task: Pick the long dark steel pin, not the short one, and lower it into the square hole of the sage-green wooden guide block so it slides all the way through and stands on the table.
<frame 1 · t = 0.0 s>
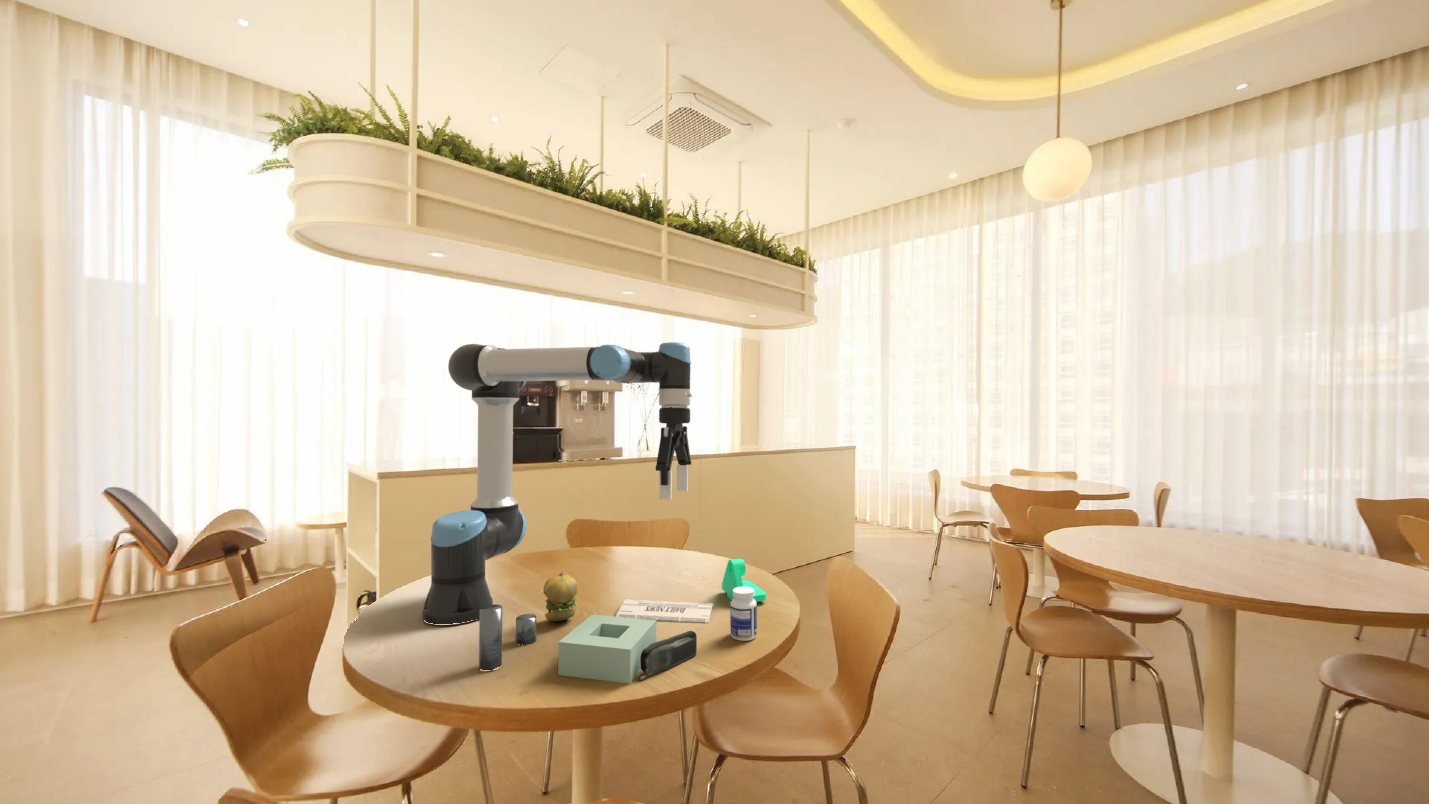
hand: (674, 495, 133), 28 cm above the table, tool pointing down, fingers open, 13 cm apart
pill bottle: (743, 637, 119), on the table
mobile phone: (667, 667, 105), on the table
short pin: (525, 641, 116), on the table
newspaper: (664, 615, 133), on the table
hamburger: (560, 623, 126), on the table
long pin: (490, 667, 104), on the table
camera mount: (744, 599, 143), on the table
guide block: (609, 662, 106), on the table
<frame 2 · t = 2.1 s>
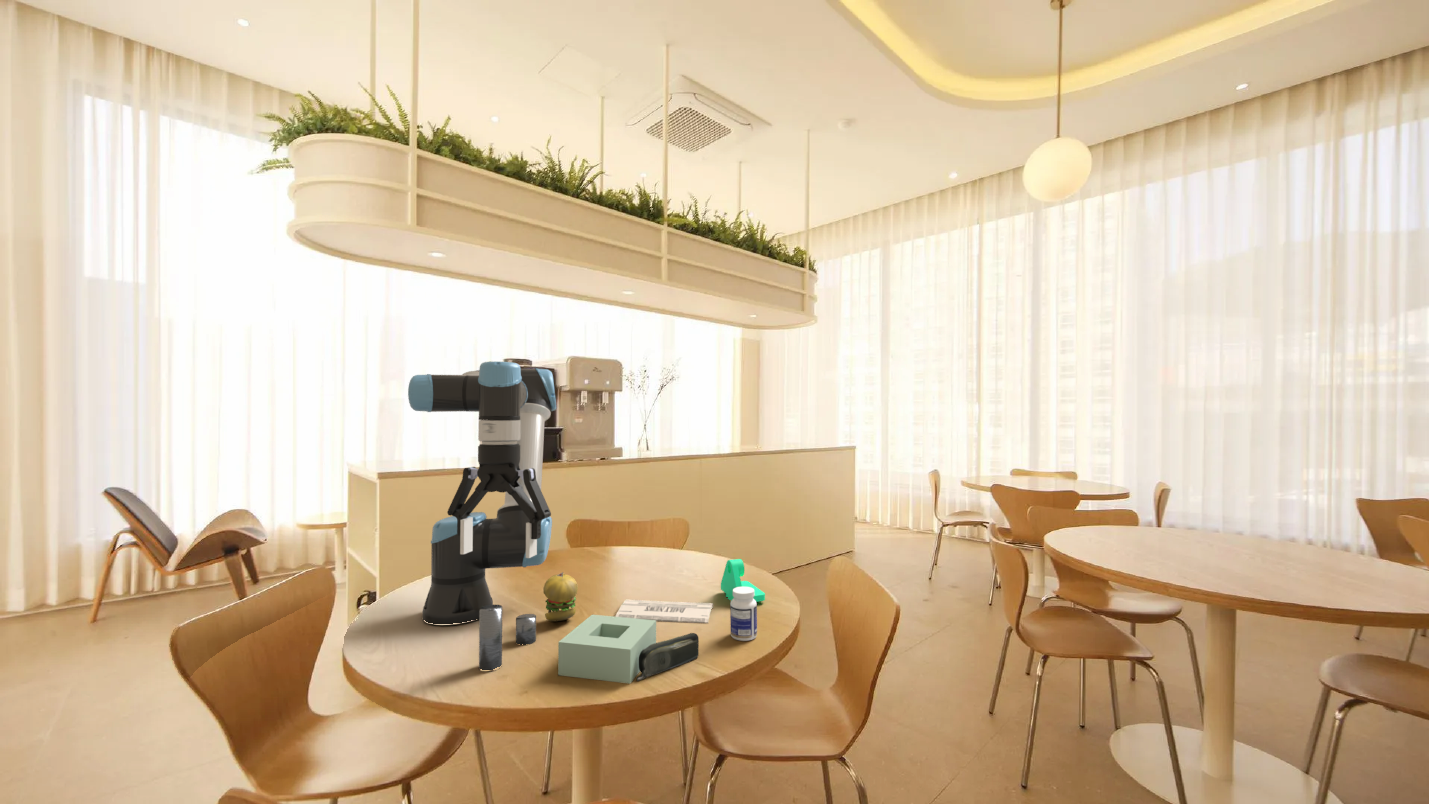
hand: (498, 554, 105), 21 cm above the table, tool pointing down, fingers open, 13 cm apart
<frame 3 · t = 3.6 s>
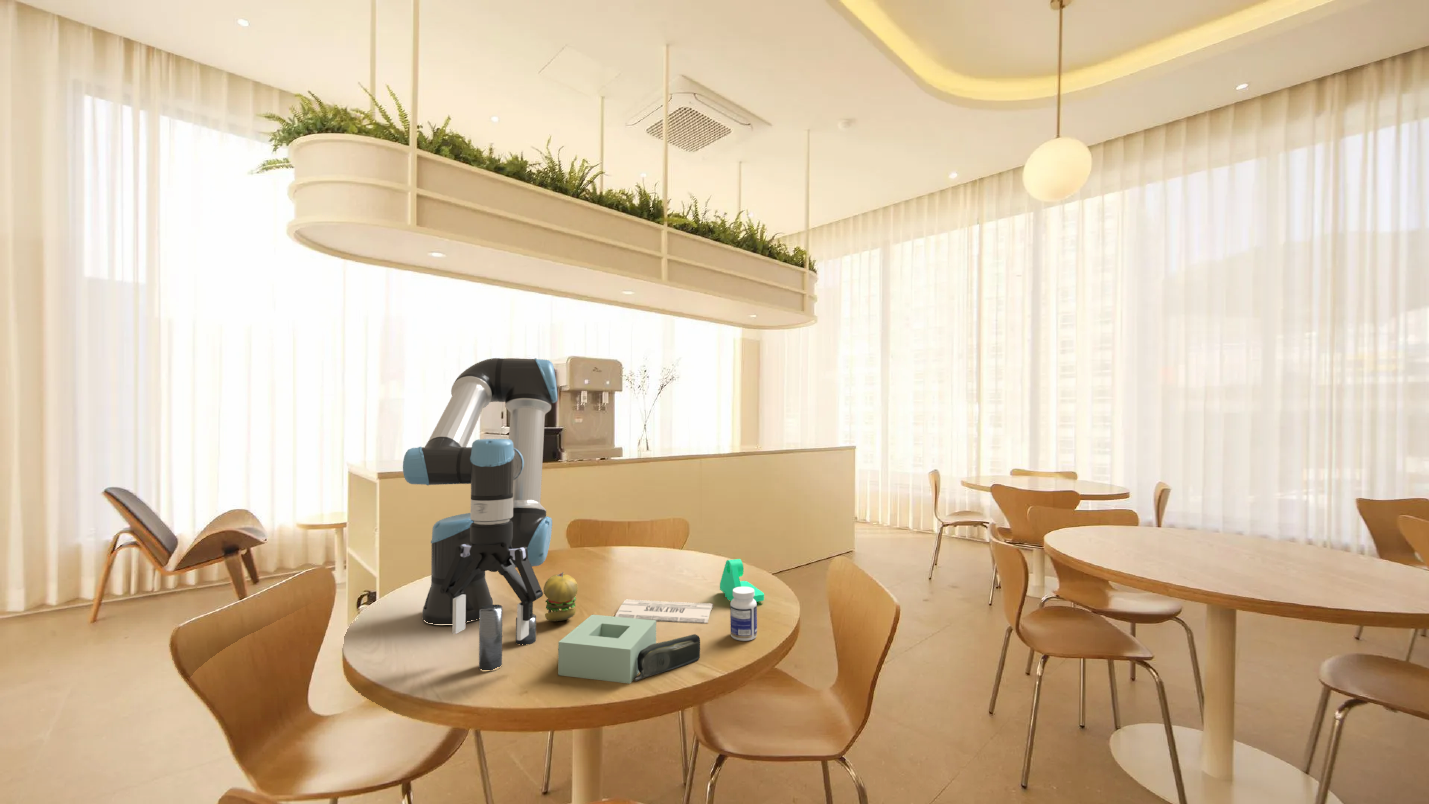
hand: (490, 634, 104), 6 cm above the table, tool pointing down, fingers open, 13 cm apart
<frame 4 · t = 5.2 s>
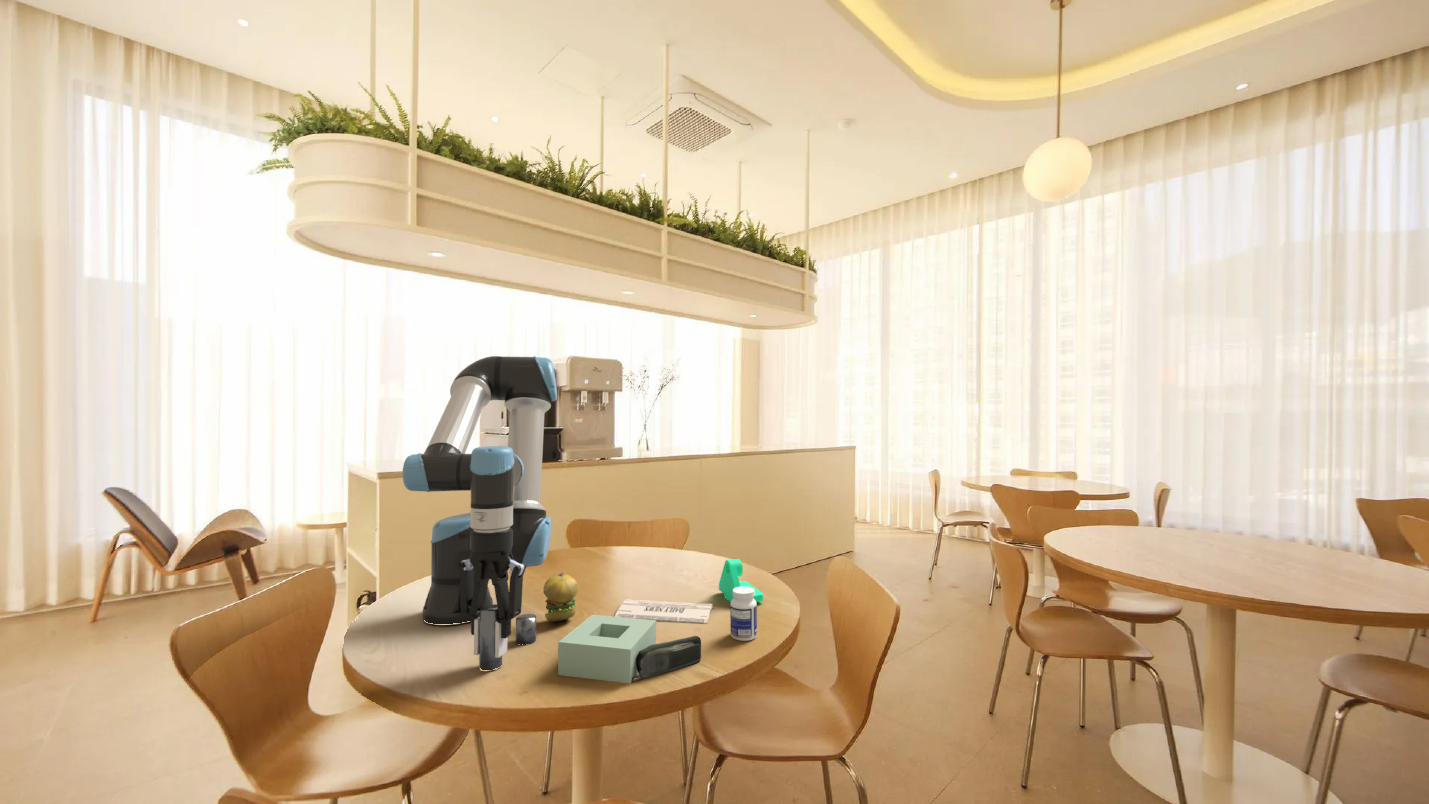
hand: (490, 652, 104), 3 cm above the table, tool pointing down, fingers closed on long pin, 4 cm apart
long pin: (490, 666, 104), on the table, touching gripper
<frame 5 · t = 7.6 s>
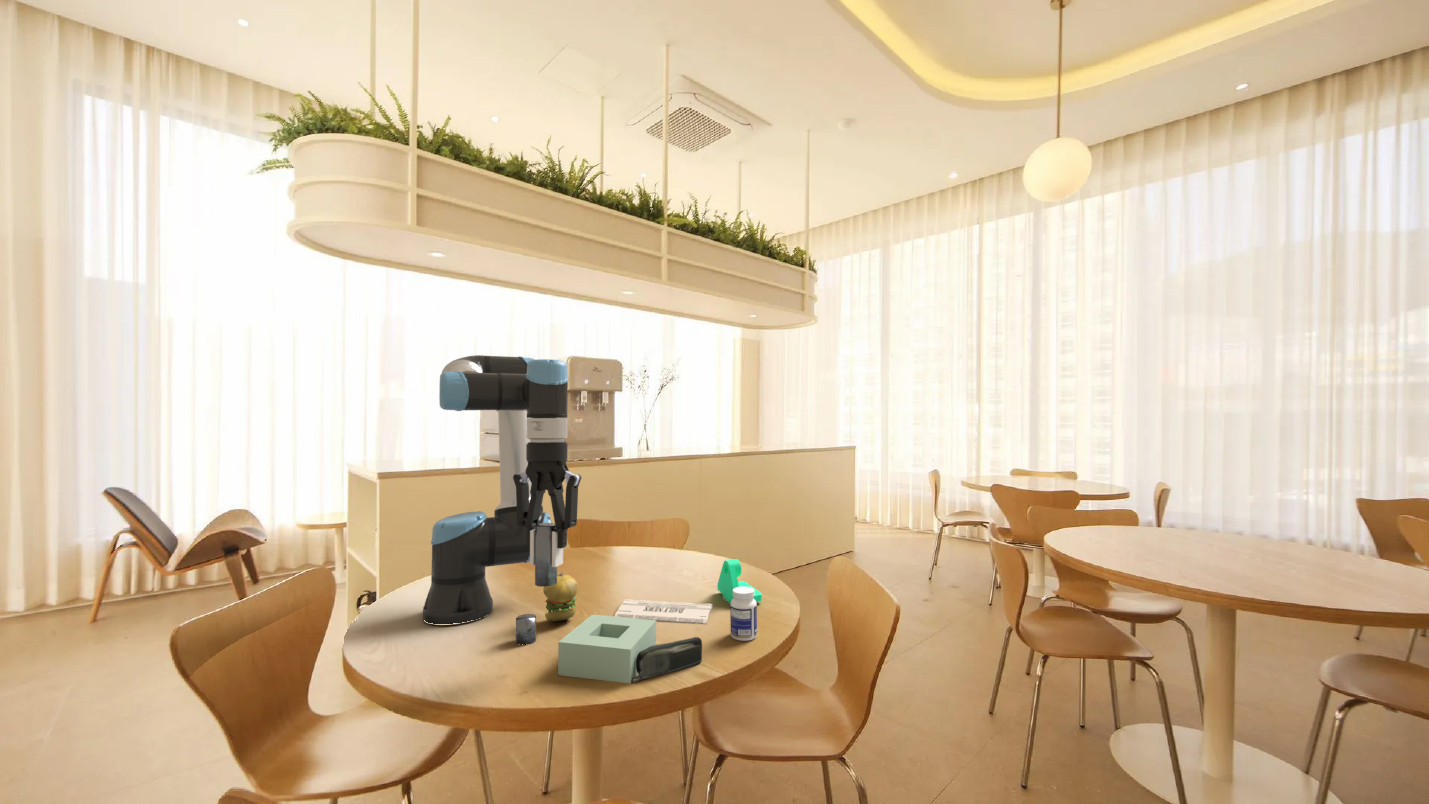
hand: (546, 564, 105), 19 cm above the table, tool pointing down, fingers closed on long pin, 4 cm apart
long pin: (546, 583, 105), point 16 cm above the table, touching gripper
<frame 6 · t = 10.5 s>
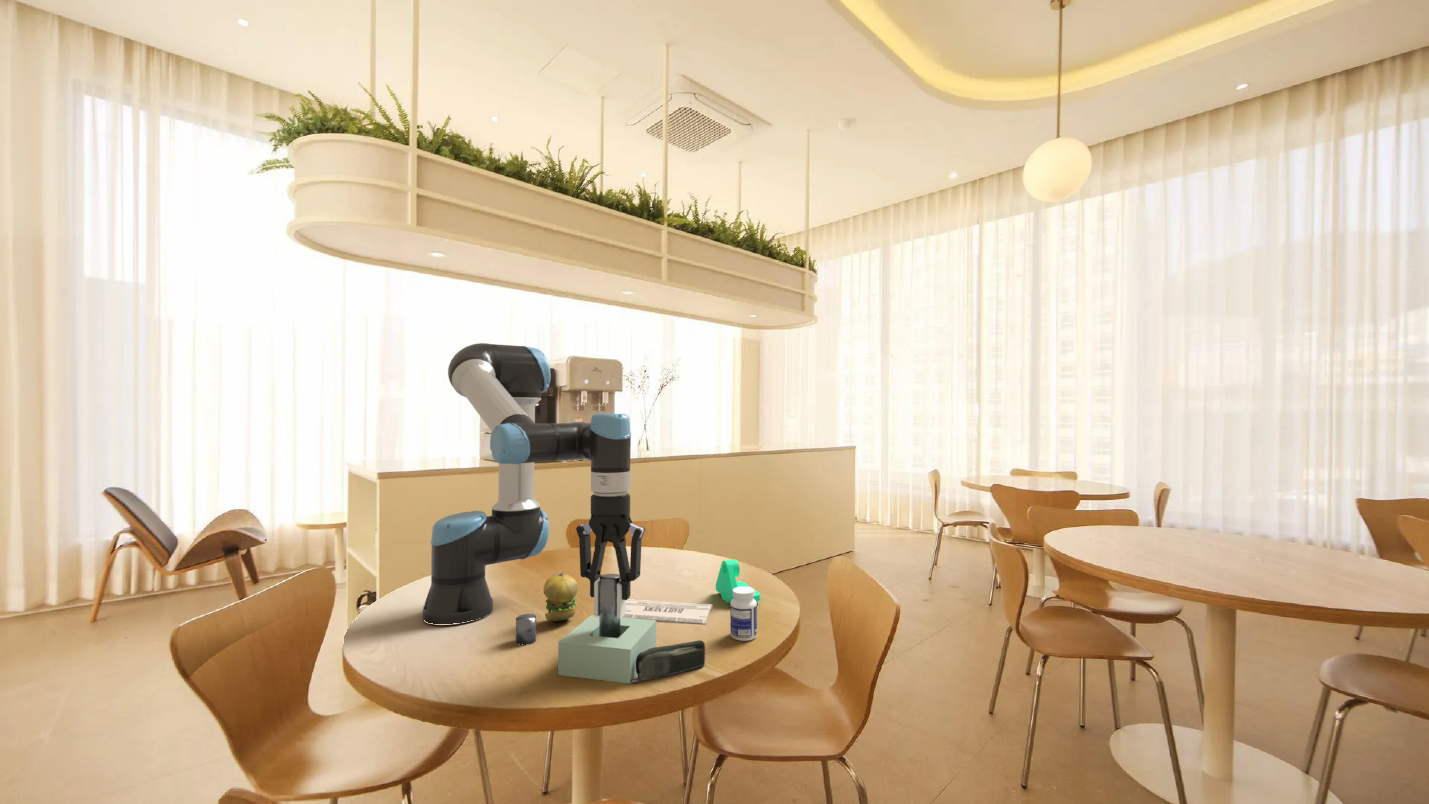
hand: (610, 614, 106), 9 cm above the table, tool pointing down, fingers closed on long pin, 4 cm apart
mobile phone: (668, 675, 102), on the table
long pin: (609, 634, 106), point 5 cm above the table, touching gripper
when the fingers open (7 cm above the table, at t = 12.0 s): long pin stays where it is, point 3 cm above the table.
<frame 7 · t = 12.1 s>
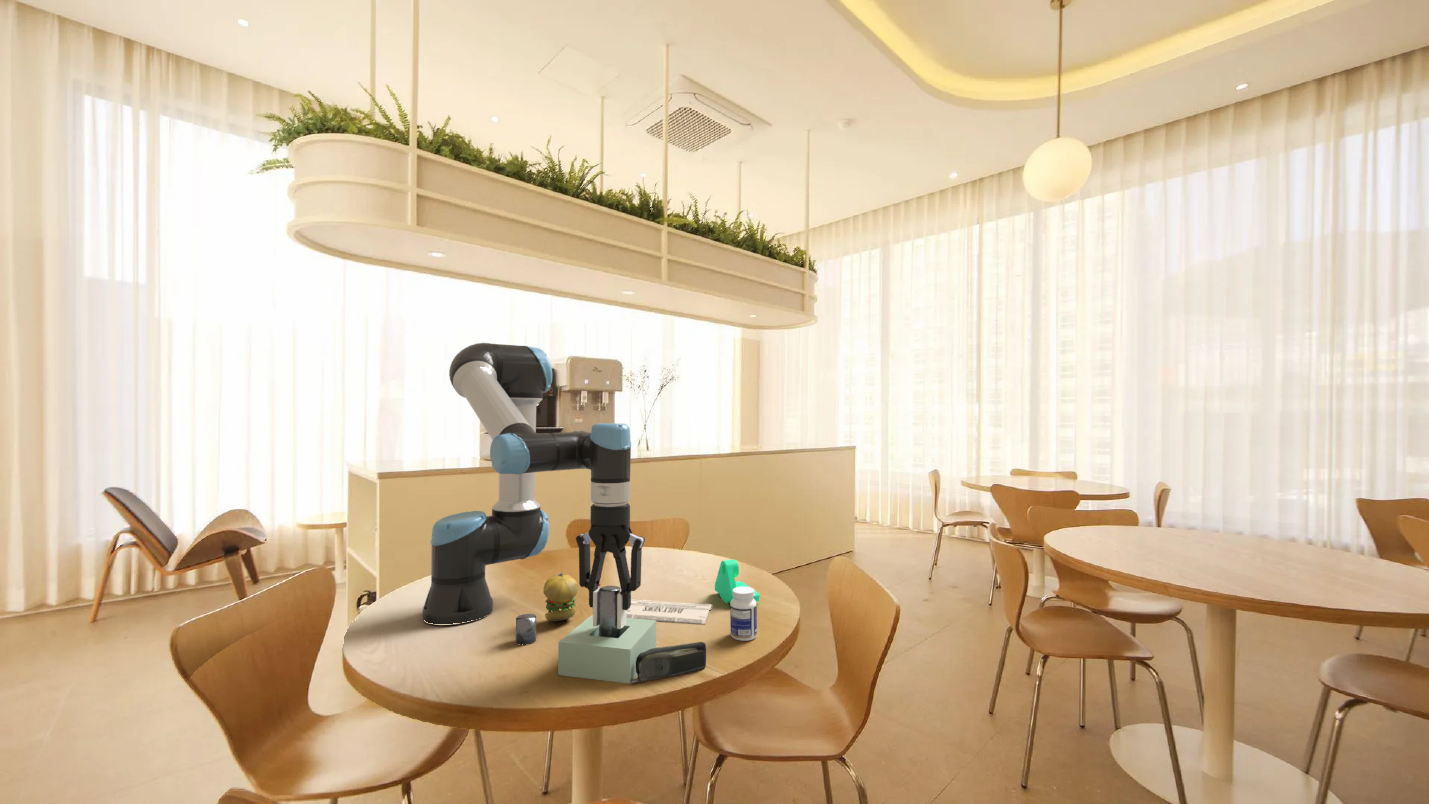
hand: (609, 624, 106), 7 cm above the table, tool pointing down, fingers open, 4 cm apart
long pin: (609, 646, 106), point 3 cm above the table
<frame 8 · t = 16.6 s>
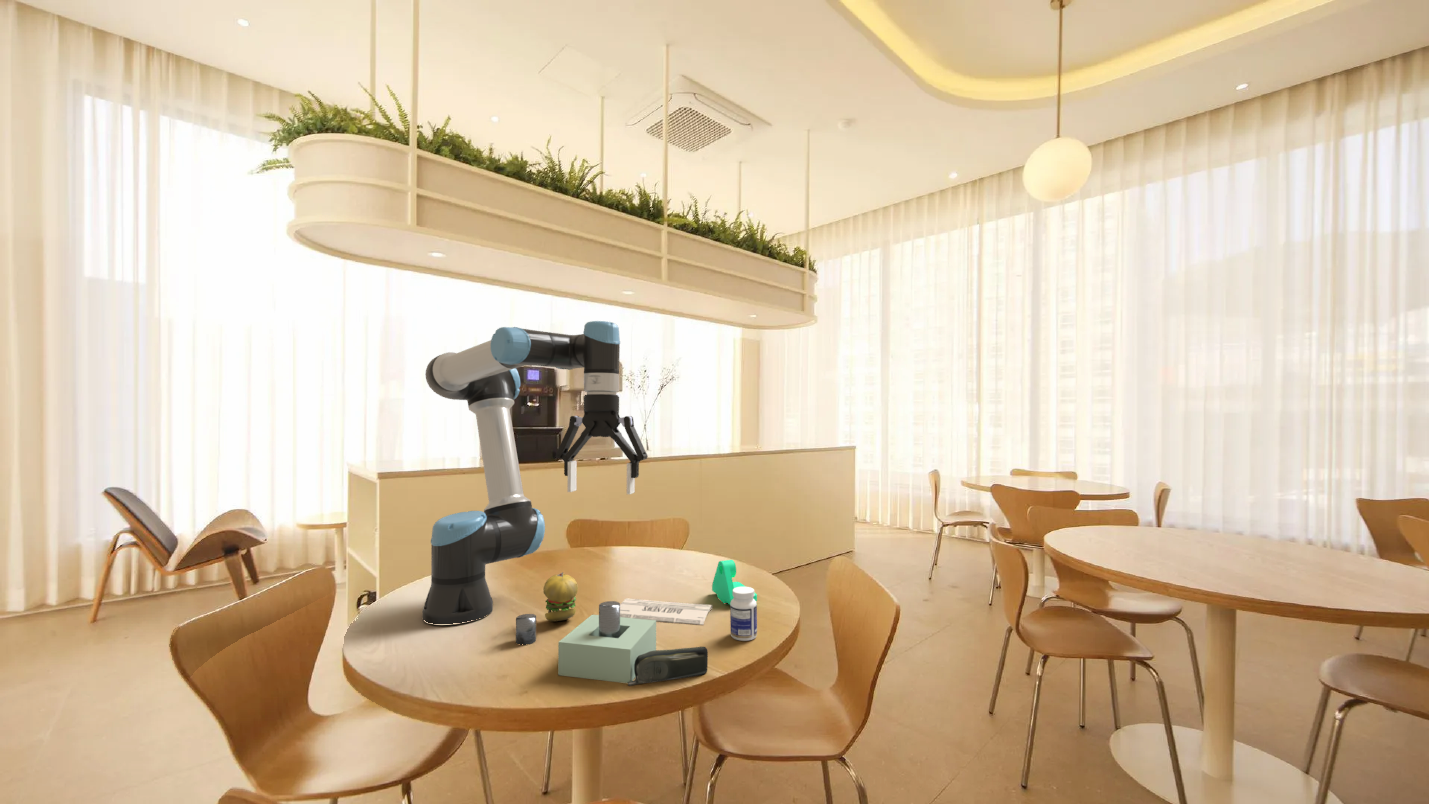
hand: (600, 492, 119), 31 cm above the table, tool pointing down, fingers open, 13 cm apart
mobile phone: (668, 679, 100), on the table
long pin: (609, 662, 106), resting in guide block
at the end: long pin 0.1 cm off-centre on the guide block, point 0.0 cm above the guide block's base; long pin tilted 0°; short pin moved 0.1 cm from its start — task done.
